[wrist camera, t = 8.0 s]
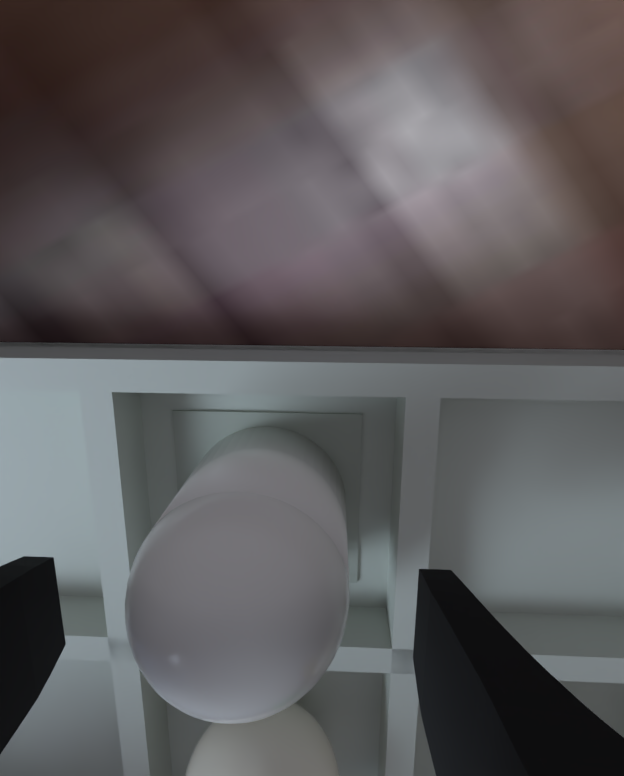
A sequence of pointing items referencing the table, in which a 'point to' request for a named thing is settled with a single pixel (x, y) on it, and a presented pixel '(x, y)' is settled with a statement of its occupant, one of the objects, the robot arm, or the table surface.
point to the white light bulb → (243, 580)
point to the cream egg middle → (266, 748)
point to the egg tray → (363, 518)
